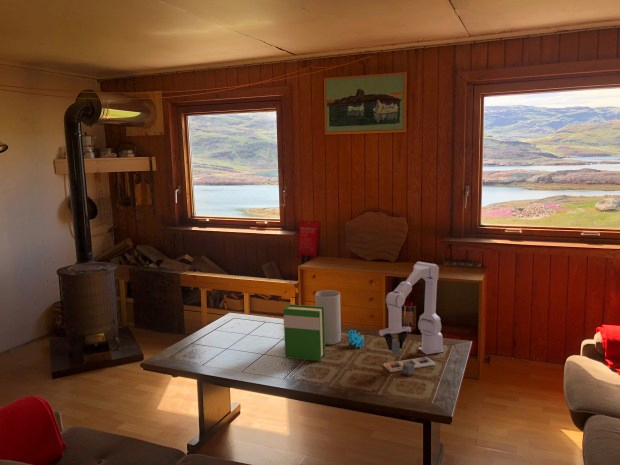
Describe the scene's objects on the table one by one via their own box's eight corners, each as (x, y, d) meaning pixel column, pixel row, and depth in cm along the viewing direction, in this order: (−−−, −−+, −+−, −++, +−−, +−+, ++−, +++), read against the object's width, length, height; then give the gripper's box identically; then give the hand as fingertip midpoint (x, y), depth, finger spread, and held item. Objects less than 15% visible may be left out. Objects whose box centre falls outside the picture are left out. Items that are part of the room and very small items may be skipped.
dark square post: (398, 351, 229) (398, 338, 228) (399, 354, 226) (399, 341, 225) (390, 351, 229) (390, 338, 228) (391, 354, 226) (391, 341, 225)
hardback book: (325, 355, 245) (323, 306, 242) (320, 361, 238) (319, 311, 235) (290, 351, 251) (289, 304, 247) (285, 357, 244) (283, 308, 240)
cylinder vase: (320, 346, 256) (318, 298, 252) (314, 337, 268) (312, 291, 264) (344, 343, 259) (343, 295, 255) (337, 335, 271) (336, 289, 267)
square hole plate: (427, 359, 237) (427, 356, 237) (435, 364, 230) (435, 362, 230) (383, 366, 231) (383, 363, 231) (390, 372, 224) (390, 369, 224)
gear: (355, 347, 249) (345, 330, 253) (348, 354, 252) (338, 336, 256) (369, 344, 256) (360, 327, 261) (362, 350, 260) (353, 333, 264)
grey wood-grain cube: (408, 370, 225) (408, 362, 225) (414, 373, 222) (414, 365, 222) (402, 372, 223) (402, 364, 223) (408, 375, 220) (408, 366, 220)
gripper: (405, 314, 231) (405, 343, 233) (376, 318, 227) (376, 347, 229) (413, 319, 224) (413, 349, 226) (382, 323, 220) (383, 353, 222)
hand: (395, 348), depth 227 cm, fingers closed on dark square post, 4 cm apart
